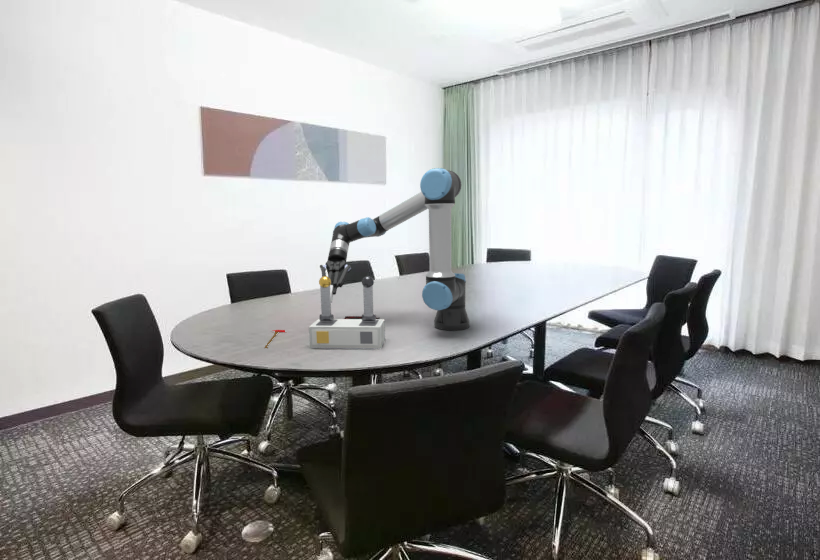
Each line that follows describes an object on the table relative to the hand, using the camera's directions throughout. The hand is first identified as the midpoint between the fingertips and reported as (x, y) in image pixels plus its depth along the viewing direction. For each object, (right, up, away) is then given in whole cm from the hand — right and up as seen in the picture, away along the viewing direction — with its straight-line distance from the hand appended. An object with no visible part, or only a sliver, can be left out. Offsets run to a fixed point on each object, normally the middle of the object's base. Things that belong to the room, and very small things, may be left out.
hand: (329, 300), depth 170 cm
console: (+8, -16, -4) cm, 18 cm away
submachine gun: (+3, -13, +22) cm, 25 cm away
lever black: (+16, -7, -6) cm, 18 cm away
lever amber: (0, -7, -4) cm, 8 cm away
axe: (-25, -16, +5) cm, 30 cm away
